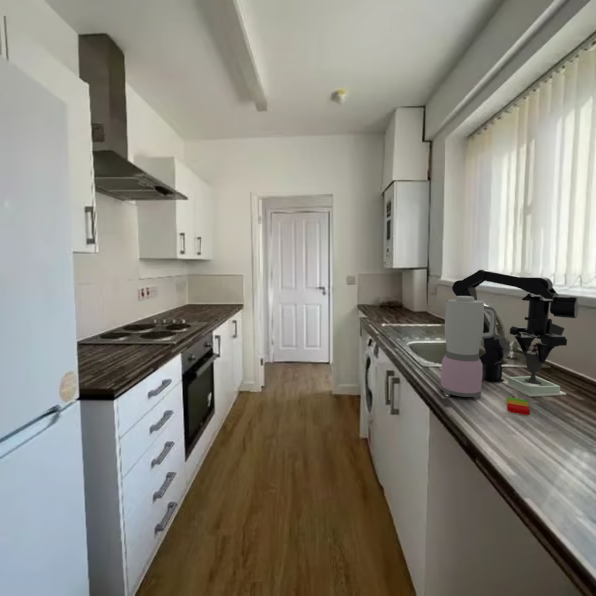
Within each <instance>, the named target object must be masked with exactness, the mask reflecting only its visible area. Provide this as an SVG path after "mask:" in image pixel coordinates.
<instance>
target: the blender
mask: <svg viewBox="0 0 596 596" xmlns="http://www.w3.org/2000/svg"><path fill="white" fill-rule="evenodd" d="M443 302H444V303H445V314H444V338H445V346H446V351H445V355H444V356H443V357H442V361H441V370H440V371H441V373H440V385H439V386H440V387H439V388H440V390H441V391H442V392H443V395H444V394H446V395H448V396H450V397H451V396H457V397H463V398H473V400H475V401H476V400H479V399H480V396H481V395H482V382H483V381H482V380H483V379H485V378H486V372H485V371H483V370H482V363H481V360H480V358H479V357H480V355H479V354H480V353H479V352H480V347H481V343H482V341H483V339H484V338H491V337H493V336H494V335H495V333H496V326H497V311H496V310H495V308H493V307H491V306H489V305H488V306H487V305H485V303H484V301H482V300H478V299H477V300H474V297H471V296H456V299H455V298H451V299H448V300H443ZM485 312H488V313H489V316H490V317H489V318H490V319H489V322H490V328H489V332H488V333H483V326H484V313H485Z"/></svg>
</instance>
